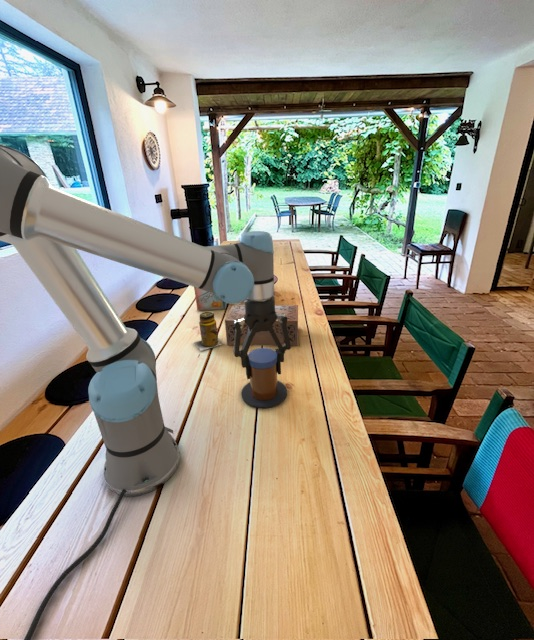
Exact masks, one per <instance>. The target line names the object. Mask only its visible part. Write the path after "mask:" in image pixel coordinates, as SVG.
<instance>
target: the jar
mask: <svg viewBox="0 0 534 640" xmlns="http://www.w3.org/2000/svg"><path fill="white" fill-rule="evenodd" d="M249 368H250V379H249V383H250V387H251V395H252V396H253V397H254V398H256V399H258V400H269V399H272V398H273V397H275V396H276V395H277V392H278V387H277V381H278V373H277V363H276V364H275V365H274V366H272V367H270V368H266V369H257V368H254V367H252V366H250V365H249Z"/></svg>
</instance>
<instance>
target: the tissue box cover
mask: <svg viewBox="0 0 534 640" xmlns="http://www.w3.org/2000/svg"><path fill="white" fill-rule="evenodd" d="M231 305H232V306H231V308H230V309H229V311H228V313H227V315H226V317H225V319H224V327H225V337H226V345H227V346H234V337H235V324H234V319H238V320H240V319H243V318H244V316H245V304H231ZM275 313H276V314H282V313H284V314H285V315H286V316H287V318H288V319H287V330H288V335H289V340H290V345H291V347H298V345H299V341H298V340H299V305H298V304H295V305H294V304H275ZM248 328H249V326H248V325H247V324H246V323H244V324H243V328H241V340H240V346H243V343H244V340H245V338H246V335H247V332H248ZM272 328H273V330H274V331H275V333H276V335H277V337H278V339H279V341H280V343H281V345H282V344H284V340H283V336H282V331H281V326H280V323H279V321H278V319H276V321H275V322H274V324H273V325H272ZM250 346H259V347H261V346H266V347H267V346H268V347H277V345H276V343H275V341H274V339H273V338H272V336H271V334H270V332H269V330H268V331H261V332H257V333H256V334H255V336H254V337H253V340H252V342H251V345H250Z"/></svg>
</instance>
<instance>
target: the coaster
mask: <svg viewBox="0 0 534 640" xmlns="http://www.w3.org/2000/svg"><path fill="white" fill-rule="evenodd" d="M277 387H278V392H277V395H276V396H275V397H273V398H272V399H269V400H258V399H256V398H254V397H253V396H252V395H251V387H250V382H247V384H245V385H244V386H243V388H242V389H241V393H240V395H241V399H242V401H243V402H244V403H245V405H248V406H250V407H252V408H255V409H264V410H265V409H272V408H275V407H278V406H279V405H281V404H282V403H283V402H285V400H286V399H287V397H288V388H287V387H286V385H285V384H283V383H282V382H281V381H280V380H277Z"/></svg>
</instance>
